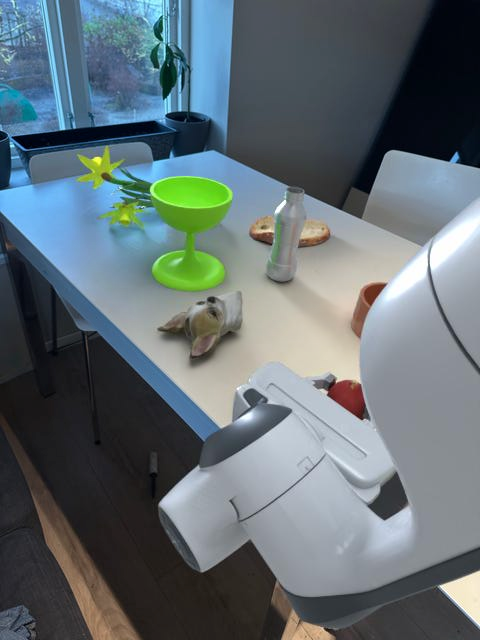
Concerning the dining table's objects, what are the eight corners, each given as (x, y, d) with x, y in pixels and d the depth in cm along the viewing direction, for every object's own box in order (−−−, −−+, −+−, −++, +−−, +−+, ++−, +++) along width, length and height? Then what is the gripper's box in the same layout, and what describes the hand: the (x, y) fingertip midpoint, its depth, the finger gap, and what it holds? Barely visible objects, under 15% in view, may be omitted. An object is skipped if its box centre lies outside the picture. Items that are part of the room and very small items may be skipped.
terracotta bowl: (423, 328, 89) (435, 299, 85) (402, 360, 81) (415, 330, 76) (365, 303, 94) (374, 275, 90) (340, 330, 86) (349, 301, 81)
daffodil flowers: (223, 229, 117) (93, 218, 94) (191, 236, 128) (68, 228, 105) (221, 164, 116) (89, 136, 93) (189, 177, 127) (64, 155, 104)
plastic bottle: (300, 279, 99) (319, 193, 87) (278, 288, 95) (295, 199, 83) (280, 266, 103) (295, 181, 91) (258, 274, 99) (271, 187, 87)
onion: (336, 398, 65) (349, 358, 60) (369, 423, 62) (387, 382, 57) (311, 418, 62) (324, 377, 57) (345, 445, 58) (362, 404, 54)
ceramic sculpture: (262, 297, 76) (191, 333, 68) (258, 335, 81) (192, 373, 73) (222, 270, 82) (152, 300, 74) (220, 307, 87) (156, 339, 79)
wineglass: (193, 246, 106) (197, 171, 95) (240, 275, 98) (250, 197, 87) (136, 265, 97) (133, 185, 86) (183, 300, 88) (185, 215, 77)
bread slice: (334, 233, 119) (337, 220, 117) (307, 259, 107) (310, 245, 104) (275, 213, 126) (277, 201, 124) (242, 235, 113) (244, 222, 111)
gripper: (370, 496, 44) (434, 424, 52) (227, 380, 54) (299, 336, 63) (354, 529, 47) (416, 457, 56) (223, 414, 58) (291, 368, 66)
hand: (353, 392), depth 59 cm, fingers closed on onion, 5 cm apart
